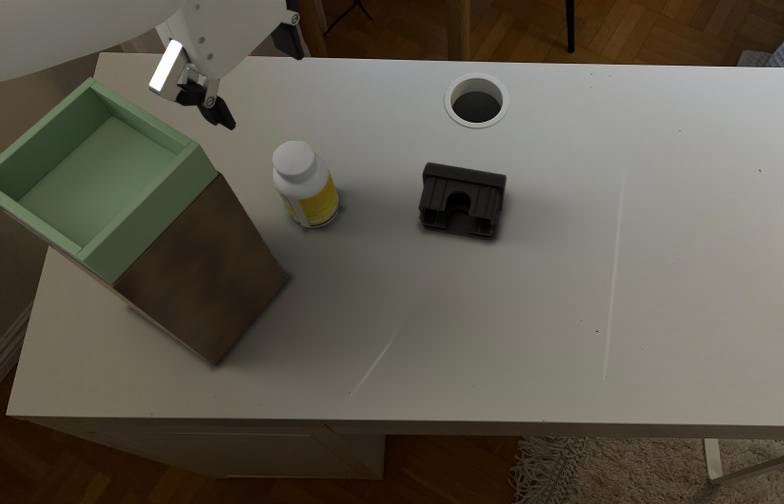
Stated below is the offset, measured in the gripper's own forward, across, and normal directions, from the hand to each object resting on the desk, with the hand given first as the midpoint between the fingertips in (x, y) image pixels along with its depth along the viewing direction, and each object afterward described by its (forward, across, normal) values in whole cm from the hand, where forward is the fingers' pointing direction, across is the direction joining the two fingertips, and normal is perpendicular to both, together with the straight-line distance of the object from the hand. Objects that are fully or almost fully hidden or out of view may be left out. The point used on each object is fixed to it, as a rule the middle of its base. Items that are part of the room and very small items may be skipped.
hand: (257, 86), depth 61 cm
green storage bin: (0, +15, -3) cm, 16 cm away
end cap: (+24, -10, +16) cm, 31 cm away
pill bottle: (+24, -1, 0) cm, 25 cm away
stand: (+24, +15, -3) cm, 29 cm away
